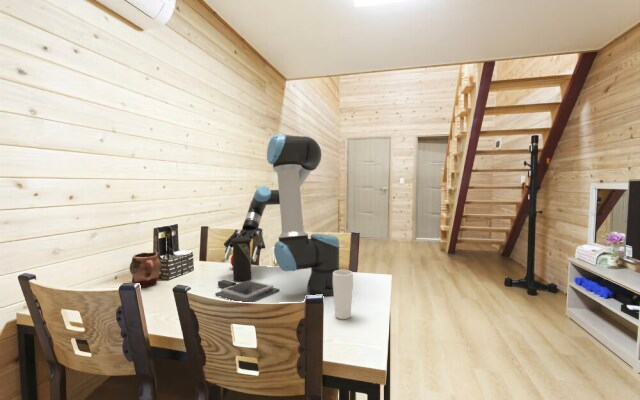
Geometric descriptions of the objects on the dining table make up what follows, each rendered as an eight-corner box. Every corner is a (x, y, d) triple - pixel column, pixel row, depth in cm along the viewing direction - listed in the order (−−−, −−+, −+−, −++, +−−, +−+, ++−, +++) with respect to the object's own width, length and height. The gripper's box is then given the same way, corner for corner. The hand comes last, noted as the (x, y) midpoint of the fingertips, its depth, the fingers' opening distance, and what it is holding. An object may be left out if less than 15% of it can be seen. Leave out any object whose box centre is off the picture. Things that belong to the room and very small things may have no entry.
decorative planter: (170, 286, 141) (169, 255, 140) (140, 294, 132) (139, 260, 131) (151, 278, 154) (150, 249, 153) (123, 284, 145) (121, 253, 144)
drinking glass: (357, 316, 108) (357, 271, 107) (344, 322, 103) (344, 276, 102) (341, 311, 112) (340, 268, 111) (328, 317, 107) (328, 272, 106)
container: (247, 282, 146) (246, 238, 145) (229, 281, 147) (228, 238, 146) (255, 277, 154) (254, 235, 153) (237, 276, 156) (236, 235, 155)
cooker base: (279, 291, 133) (279, 285, 133) (246, 305, 119) (245, 298, 118) (237, 281, 148) (237, 275, 148) (203, 291, 134) (203, 286, 133)
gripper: (277, 228, 163) (267, 265, 149) (231, 227, 167) (217, 263, 153) (273, 219, 157) (263, 256, 143) (226, 218, 161) (211, 254, 148)
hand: (239, 260), depth 148 cm, fingers open, 13 cm apart
